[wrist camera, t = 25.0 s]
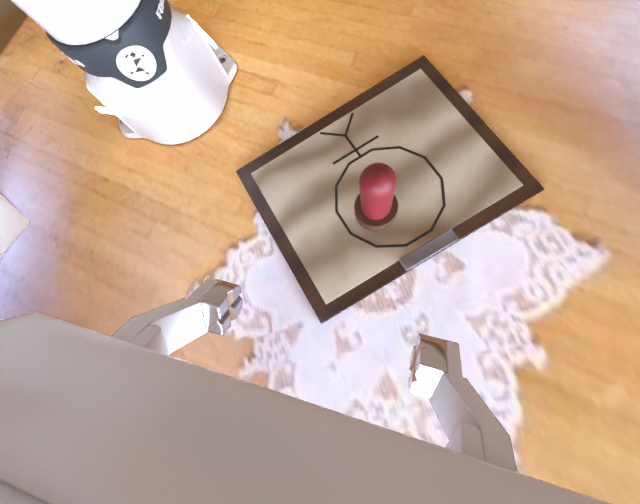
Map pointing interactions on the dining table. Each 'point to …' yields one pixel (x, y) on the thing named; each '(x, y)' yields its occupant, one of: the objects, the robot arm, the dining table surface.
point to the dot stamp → (376, 198)
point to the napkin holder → (10, 224)
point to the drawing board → (411, 187)
